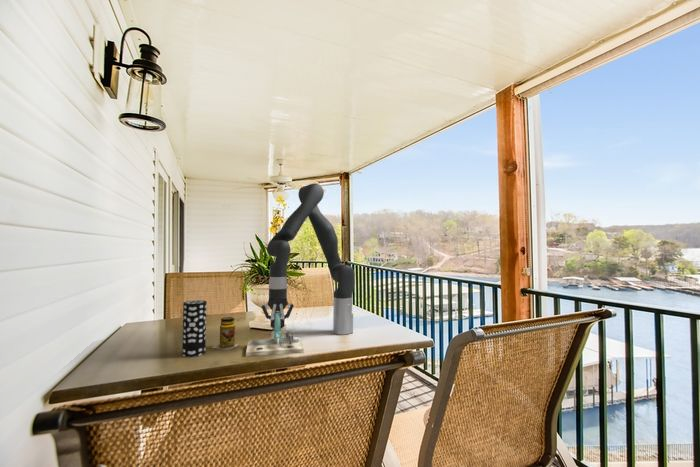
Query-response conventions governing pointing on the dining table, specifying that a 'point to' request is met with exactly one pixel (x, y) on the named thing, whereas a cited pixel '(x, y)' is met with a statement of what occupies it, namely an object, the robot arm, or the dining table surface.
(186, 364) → the dining table surface
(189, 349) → the white-spotted black cylinder
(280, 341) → the grey peg board
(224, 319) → the condiment
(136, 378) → the dining table surface
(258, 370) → the dining table surface
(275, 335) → the sliding leg
